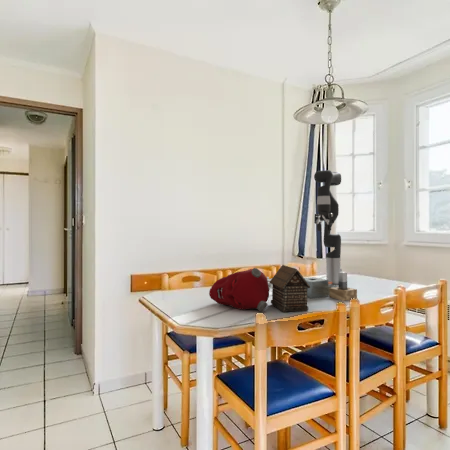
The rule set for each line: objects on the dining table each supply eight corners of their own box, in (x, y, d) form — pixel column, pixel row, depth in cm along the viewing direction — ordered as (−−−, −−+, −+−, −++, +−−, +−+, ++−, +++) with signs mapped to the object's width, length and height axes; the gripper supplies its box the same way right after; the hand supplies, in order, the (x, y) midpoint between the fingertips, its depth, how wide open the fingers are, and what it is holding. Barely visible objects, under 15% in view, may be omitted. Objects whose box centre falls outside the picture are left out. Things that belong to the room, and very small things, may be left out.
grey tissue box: (325, 290, 204) (325, 275, 204) (339, 294, 193) (339, 278, 193) (297, 294, 195) (297, 278, 195) (311, 298, 185) (311, 281, 185)
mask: (199, 276, 170) (247, 269, 151) (232, 269, 190) (277, 263, 172) (205, 317, 168) (255, 315, 149) (238, 305, 188) (285, 303, 169)
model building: (311, 311, 159) (310, 268, 158) (282, 313, 156) (281, 269, 156) (295, 302, 176) (295, 263, 176) (269, 304, 174) (268, 264, 173)
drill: (343, 297, 187) (342, 271, 187) (347, 298, 185) (347, 272, 184) (338, 297, 186) (338, 272, 186) (342, 298, 183) (342, 272, 183)
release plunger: (327, 290, 200) (327, 280, 200) (332, 291, 196) (332, 281, 196) (322, 291, 198) (322, 281, 198) (327, 292, 195) (327, 282, 195)
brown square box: (343, 295, 192) (343, 286, 192) (357, 298, 183) (356, 289, 183) (329, 297, 188) (329, 288, 188) (343, 300, 179) (342, 291, 179)
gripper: (337, 203, 199) (337, 231, 199) (320, 204, 212) (320, 230, 212) (327, 203, 196) (327, 231, 196) (310, 204, 208) (311, 230, 209)
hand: (324, 230), depth 204 cm, fingers open, 8 cm apart
